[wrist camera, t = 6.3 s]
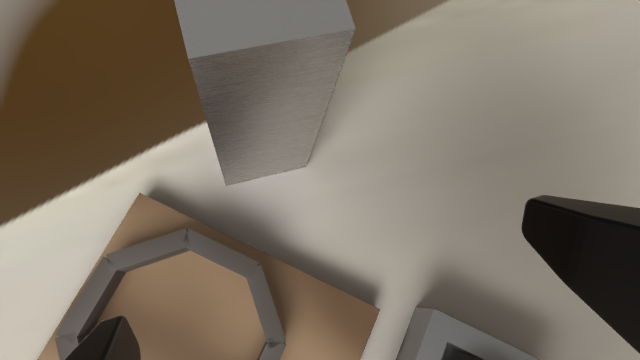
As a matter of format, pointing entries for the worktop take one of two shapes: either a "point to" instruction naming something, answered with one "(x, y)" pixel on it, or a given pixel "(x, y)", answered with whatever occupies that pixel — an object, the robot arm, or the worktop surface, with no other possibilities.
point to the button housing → (451, 340)
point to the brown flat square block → (209, 297)
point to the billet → (264, 76)
